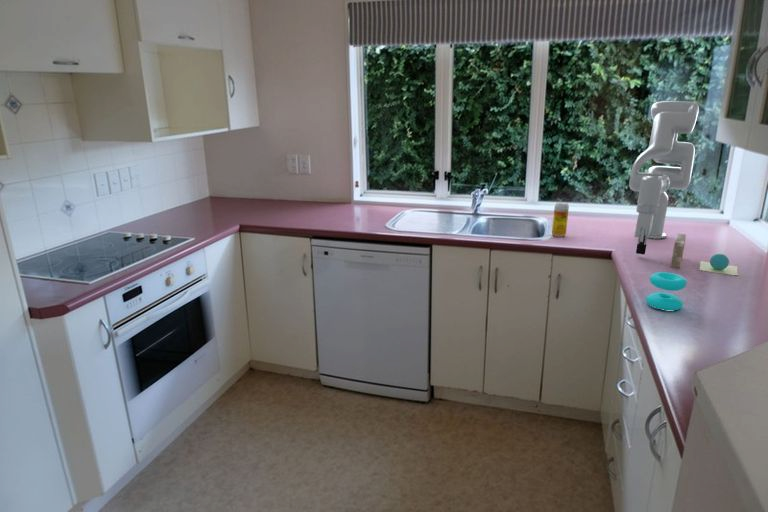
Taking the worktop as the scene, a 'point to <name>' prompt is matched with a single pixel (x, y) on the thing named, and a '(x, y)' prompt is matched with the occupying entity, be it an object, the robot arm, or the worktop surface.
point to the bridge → (678, 250)
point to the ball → (719, 261)
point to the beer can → (560, 219)
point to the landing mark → (728, 270)
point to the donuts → (666, 283)
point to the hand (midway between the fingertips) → (640, 253)
